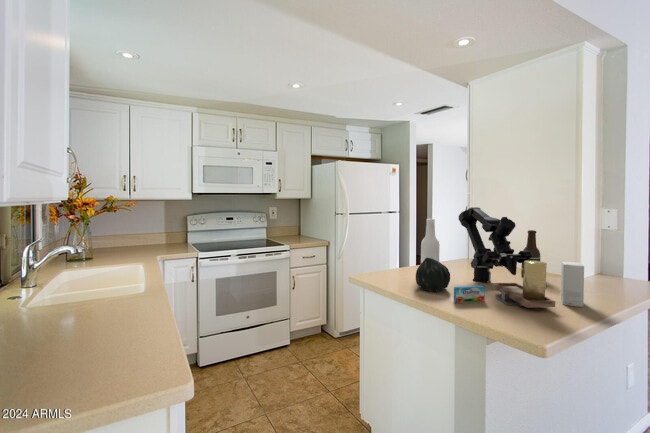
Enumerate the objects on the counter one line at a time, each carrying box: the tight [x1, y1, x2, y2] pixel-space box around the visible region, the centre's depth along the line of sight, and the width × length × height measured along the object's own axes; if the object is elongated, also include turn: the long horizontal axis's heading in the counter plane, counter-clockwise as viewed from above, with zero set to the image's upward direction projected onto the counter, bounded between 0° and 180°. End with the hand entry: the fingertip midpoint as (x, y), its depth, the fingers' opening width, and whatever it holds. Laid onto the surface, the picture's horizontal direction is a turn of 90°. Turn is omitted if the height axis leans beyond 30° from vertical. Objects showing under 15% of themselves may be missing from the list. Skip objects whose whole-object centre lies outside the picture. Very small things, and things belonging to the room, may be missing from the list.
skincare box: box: [560, 261, 585, 308], centre depth 125 cm, size 8×7×16 cm
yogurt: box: [453, 285, 486, 304], centre depth 127 cm, size 12×2×6 cm, turn 95°
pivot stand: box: [495, 292, 523, 306], centre depth 127 cm, size 8×15×4 cm, turn 91°
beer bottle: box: [520, 229, 541, 279], centre depth 161 cm, size 8×8×24 cm
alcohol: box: [420, 218, 441, 264], centre depth 162 cm, size 9×9×30 cm
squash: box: [415, 258, 451, 293], centre depth 145 cm, size 14×15×15 cm
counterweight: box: [522, 260, 547, 300], centre depth 119 cm, size 7×7×14 cm
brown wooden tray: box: [492, 282, 556, 308], centre depth 127 cm, size 23×10×2 cm, turn 1°
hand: (514, 274), depth 131 cm, fingers closed
